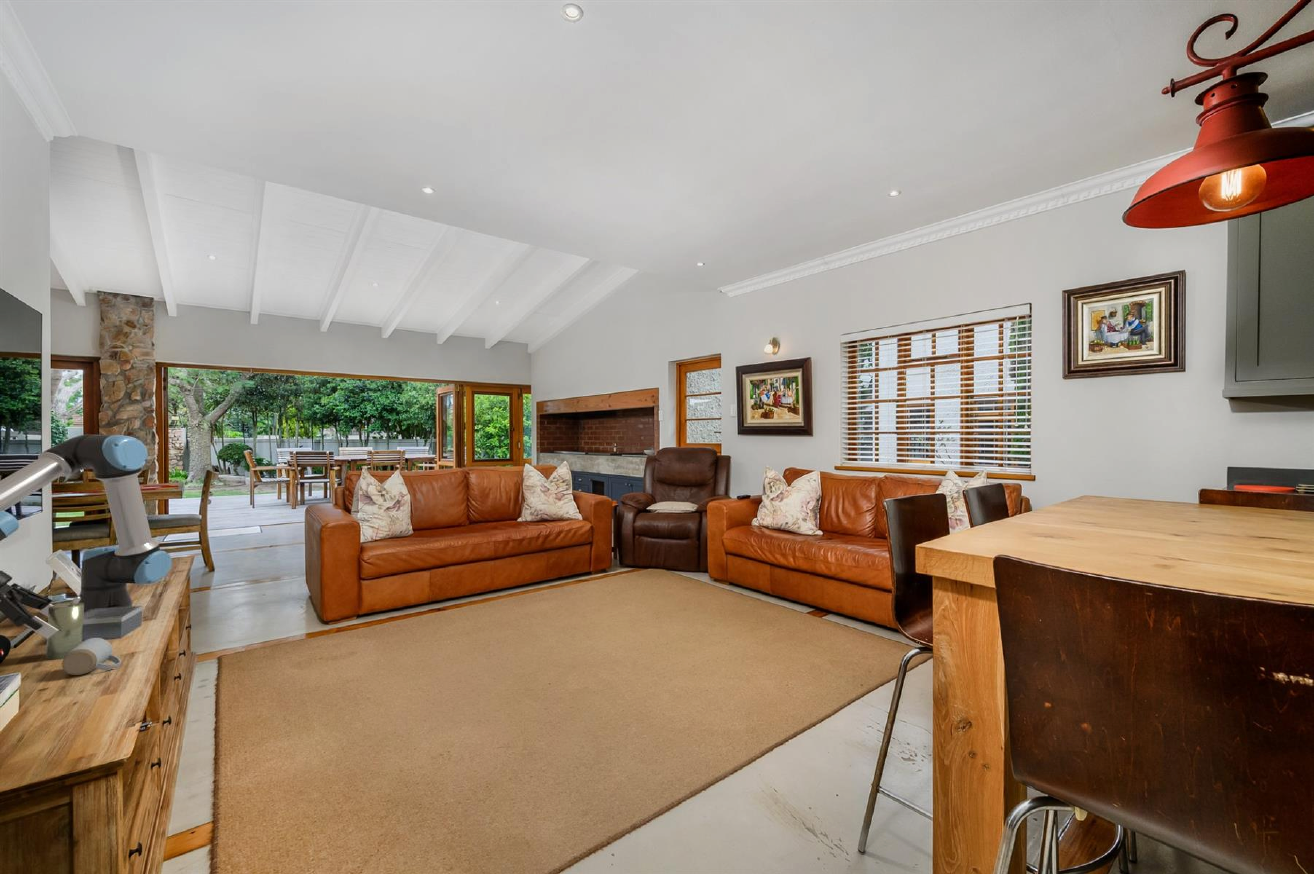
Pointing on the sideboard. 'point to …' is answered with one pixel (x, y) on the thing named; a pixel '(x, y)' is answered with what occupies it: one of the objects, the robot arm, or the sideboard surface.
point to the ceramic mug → (89, 657)
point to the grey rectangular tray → (111, 622)
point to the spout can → (65, 628)
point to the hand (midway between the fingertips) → (60, 627)
